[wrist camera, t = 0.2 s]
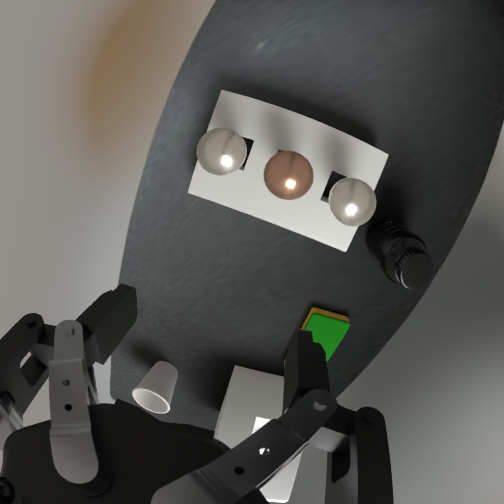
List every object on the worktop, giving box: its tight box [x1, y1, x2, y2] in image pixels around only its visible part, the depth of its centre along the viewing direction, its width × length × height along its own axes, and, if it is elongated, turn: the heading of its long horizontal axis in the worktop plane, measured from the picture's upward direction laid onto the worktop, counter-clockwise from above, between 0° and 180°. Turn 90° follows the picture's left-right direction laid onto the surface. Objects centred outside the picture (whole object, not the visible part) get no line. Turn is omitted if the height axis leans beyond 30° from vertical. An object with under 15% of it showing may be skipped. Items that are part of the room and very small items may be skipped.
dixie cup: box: [132, 361, 178, 413], centre depth 50 cm, size 8×8×10 cm
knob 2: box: [328, 177, 376, 226], centre depth 28 cm, size 5×5×6 cm
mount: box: [188, 90, 388, 252], centre depth 34 cm, size 14×22×5 cm, turn 71°
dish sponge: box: [284, 307, 350, 368], centre depth 46 cm, size 7×14×2 cm, turn 163°
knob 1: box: [197, 128, 247, 176], centre depth 27 cm, size 5×5×6 cm
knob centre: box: [264, 151, 314, 200], centre depth 28 cm, size 5×5×6 cm
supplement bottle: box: [367, 219, 434, 290], centre depth 32 cm, size 7×7×12 cm
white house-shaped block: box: [214, 365, 302, 503], centre depth 43 cm, size 19×15×25 cm
